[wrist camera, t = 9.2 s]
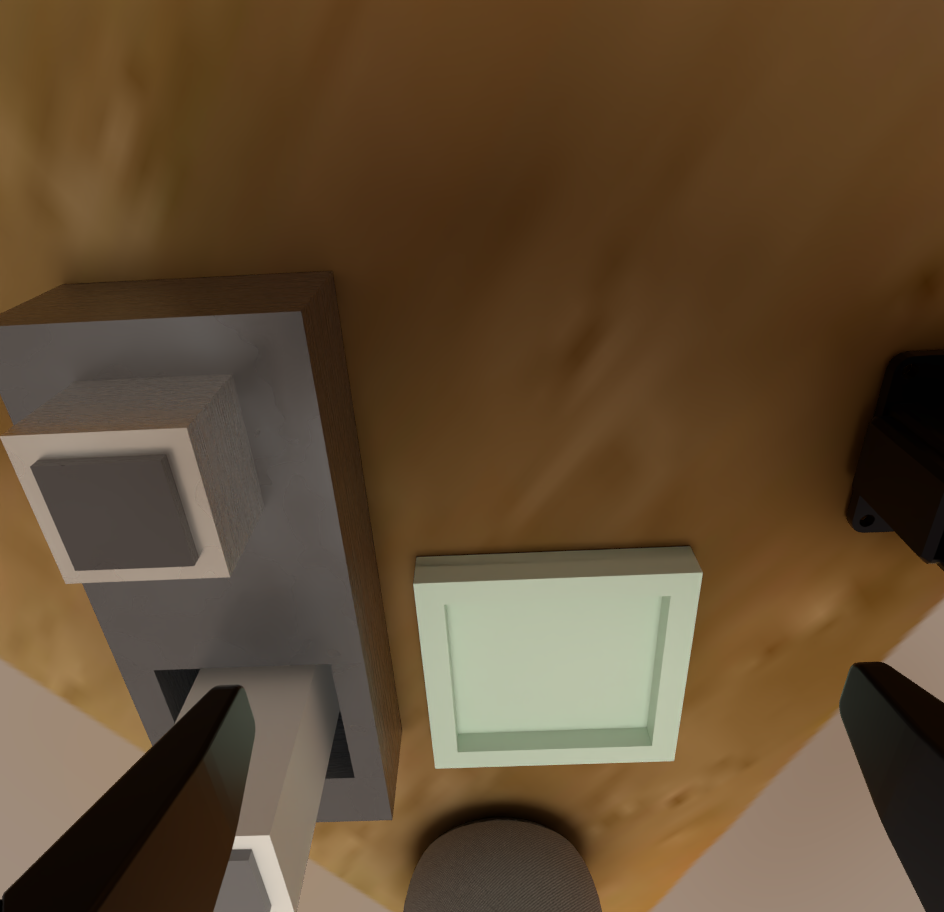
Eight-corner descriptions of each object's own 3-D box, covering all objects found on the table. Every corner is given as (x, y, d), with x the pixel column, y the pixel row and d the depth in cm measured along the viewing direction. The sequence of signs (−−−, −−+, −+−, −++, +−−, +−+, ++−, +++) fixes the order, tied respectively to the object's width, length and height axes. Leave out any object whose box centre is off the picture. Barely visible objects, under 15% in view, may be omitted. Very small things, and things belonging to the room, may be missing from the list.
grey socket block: (61, 284, 19) (-140, 380, 13) (332, 270, 19) (262, 361, 13) (221, 737, 29) (150, 919, 23) (401, 731, 29) (382, 913, 22)
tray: (690, 546, 24) (702, 572, 23) (664, 730, 29) (673, 760, 28) (416, 556, 24) (413, 583, 23) (436, 737, 29) (435, 768, 28)
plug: (327, 622, 24) (266, 846, 17) (342, 697, 26) (293, 927, 19) (220, 625, 25) (115, 850, 17) (243, 700, 26) (156, 930, 19)
